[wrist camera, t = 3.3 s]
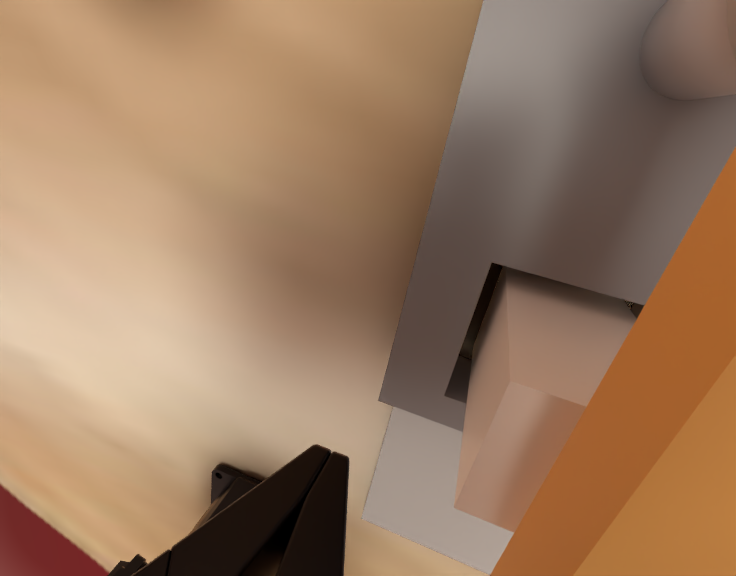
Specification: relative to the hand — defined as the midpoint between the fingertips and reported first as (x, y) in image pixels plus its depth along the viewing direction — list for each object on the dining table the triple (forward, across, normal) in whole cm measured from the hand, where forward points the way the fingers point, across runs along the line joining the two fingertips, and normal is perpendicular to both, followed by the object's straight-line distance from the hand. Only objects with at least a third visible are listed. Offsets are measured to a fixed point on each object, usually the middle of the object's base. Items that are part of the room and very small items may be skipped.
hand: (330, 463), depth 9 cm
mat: (+9, -5, +9) cm, 14 cm away
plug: (+9, -5, -1) cm, 10 cm away
